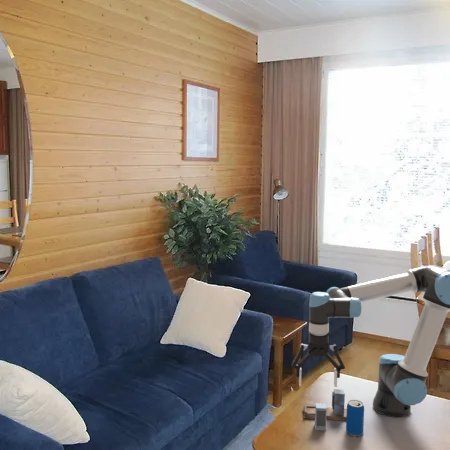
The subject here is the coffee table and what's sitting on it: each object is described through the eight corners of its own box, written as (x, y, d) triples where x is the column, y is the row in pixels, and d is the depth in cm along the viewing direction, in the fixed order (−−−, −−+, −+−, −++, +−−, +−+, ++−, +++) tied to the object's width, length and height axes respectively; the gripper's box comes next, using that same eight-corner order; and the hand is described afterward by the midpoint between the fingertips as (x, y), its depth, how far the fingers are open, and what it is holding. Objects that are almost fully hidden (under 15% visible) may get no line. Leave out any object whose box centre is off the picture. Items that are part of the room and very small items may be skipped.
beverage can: (360, 438, 192) (361, 408, 191) (343, 434, 196) (344, 404, 194) (365, 431, 198) (366, 401, 196) (349, 426, 201) (350, 397, 199)
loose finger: (314, 424, 203) (315, 403, 201) (325, 425, 202) (325, 403, 201) (315, 430, 198) (316, 408, 197) (326, 431, 198) (326, 409, 196)
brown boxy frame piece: (347, 412, 212) (348, 388, 211) (349, 420, 205) (350, 396, 204) (303, 409, 214) (304, 385, 213) (304, 418, 207) (304, 393, 206)
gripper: (350, 329, 199) (348, 381, 202) (285, 328, 201) (285, 379, 204) (353, 336, 191) (351, 390, 194) (286, 335, 193) (285, 388, 196)
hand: (317, 385), depth 199 cm, fingers open, 13 cm apart
